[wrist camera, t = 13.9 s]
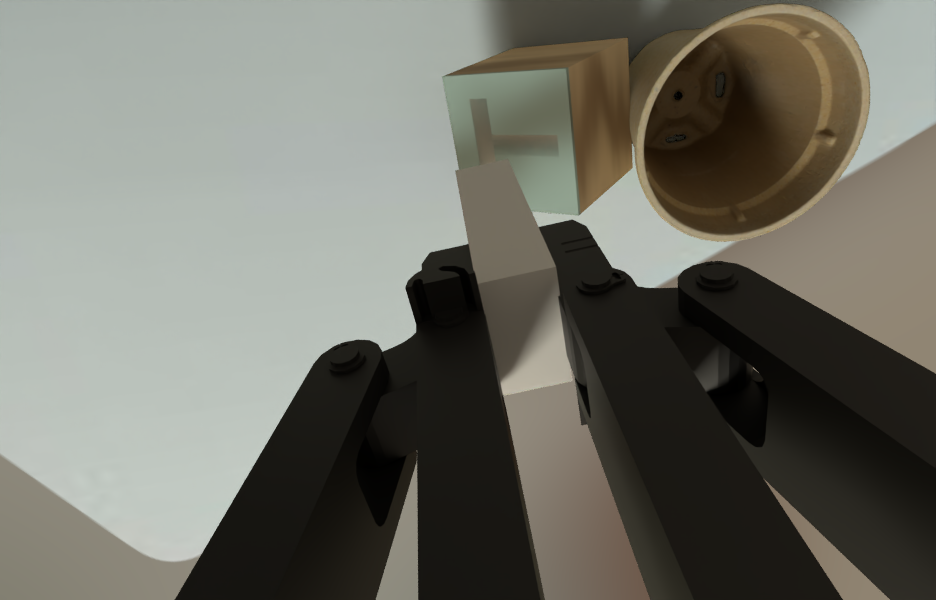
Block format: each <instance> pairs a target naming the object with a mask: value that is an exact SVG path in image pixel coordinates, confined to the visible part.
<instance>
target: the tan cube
mask: <svg viewBox="0 0 936 600" xmlns="http://www.w3.org/2000/svg"><path fill="white" fill-rule="evenodd" d="M442 78H443V84H444V89H445V95H446V100H447V106H448V111H449V116H450V122H451V127H452V133H453V138H454V144H455V149H456V155H457V160H458V166H459V170H461V169H466V168H470V167H474V166H479V165H483V164H488V163H492V162H497V161H501V160H505V159H508V160H509V162H510V165H511V167H512V169H513V171H514V174H515V176H516V178H517V180H518V183H519V185H520V187H521V189H522V192H523V194H524V196H525V198H526V201H527V203H528V205H529V207H530V209H531V211H534V212H545V213H556V214H567V215H578V216H579V215H580V214H581V213H582V212H583V211H584V210H585V209H587V208H588V207H589V206H590V205H591V204H592V203H593V202H594V201H596V200H597V199H598V198H599V197H600V196H601V195H602V194H603V193H605V192H606V191H607V190H608V189H609V188H610V187H611V186H613V185H614V184H615V183H616V182H617V181H618V180H619V179H620V178H622V177H623V176H624V175H625V174H626V173H627V172H628V171H630V170H631V169H632V168H633V167H632V139H631V133H630V123H629V117H630V84H629V57H628V38H619V39H608V40H597V41H587V42H576V43H565V44H554V45H543V46H533V47H522V48H513V49H510V50H508V51H505V52H503V53H500V54H498V55H495V56H493V57H490V58H488V59H485V60H483V61H480V62H478V63H475V64H473V65H470V66H468V67H465V68H463V69H460V70H458V71H455V72H453V73H450V74H448V75H445V76H443V77H442Z"/></svg>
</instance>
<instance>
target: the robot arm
mask: <svg viewBox="0 0 936 600" xmlns="http://www.w3.org/2000/svg"><path fill="white" fill-rule="evenodd" d="M456 177H457V182H458V188H459V193H460V199H461V204H462V210H463V215H464V221H465V226H466V232H467V237H468V243H469V244H467V245H463V246H458V247H454V248H449V249H445V250H440V251H435V252H431V253H429V255H428V256H427V257H426V259H425V260H424V262H423V263H422V271H420V272H418V273H416V274H415V275H414V276H413V277H412V278H411V279H409V280H408V282H407V285H406V292H407V295H408V298H409V302H410V305H411V308H412V312H413V315H414V318H415V322H416V333H415V334H414V335H413V336H412V337H411V338H409V339H408V340H406V341H405V342H403V343H401V344H399V345H397V346H395V347H393V348H391V349H388V350H386V351H384V352H382V350H381V349H380V347H379V345H378V344H376V343H374V342H372V341H370V340H354V341H349V342H344V343H341V344H338V345H336V346H334V347H332V348H331V349H329V350H328V351H326V352H325V353H323V354H322V355H321V356H320V357H319V358H318V359H317V361H316V362H315V363H314V364H313V366H312V368H311V369H310V371H309V373H308V374H307V376H306V378H305V380H304V381H303V383H302V385H301V386H300V388H299V390H298V391H297V393H296V395H295V397H294V398H293V400H292V402H291V403H290V405H289V407H288V408H287V410H286V412H285V414H284V415H283V417H282V419H281V420H280V422H279V424H278V425H277V427H276V429H275V431H274V432H273V434H272V436H271V437H270V439H269V441H268V442H267V444H266V446H265V448H264V449H263V451H262V453H261V454H260V456H259V458H258V459H257V461H256V463H255V464H254V466H253V468H252V470H251V471H250V473H249V475H248V476H247V478H246V480H245V481H244V483H243V485H242V487H241V488H240V490H239V492H238V493H237V495H236V497H235V498H234V500H233V502H232V504H231V505H230V507H229V509H228V510H227V512H226V514H225V515H224V517H223V519H222V521H221V522H220V524H219V526H218V527H217V529H216V531H215V532H214V534H213V536H212V538H211V539H210V541H209V543H208V544H207V546H206V548H205V549H204V551H203V553H202V554H201V556H200V558H199V560H198V561H197V563H196V565H195V566H194V568H193V570H192V571H191V573H190V575H189V577H188V578H187V580H186V582H185V583H184V585H183V587H182V588H181V590H180V592H179V594H178V596H177V597H176V599H175V600H376V596H377V592H378V590H379V586H380V583H381V579H382V576H383V573H384V569H385V566H386V562H387V559H388V556H389V552H390V549H391V546H392V542H393V539H394V536H395V532H396V529H397V526H398V522H399V519H400V515H401V512H402V509H403V505H404V502H405V499H406V495H407V492H408V488H409V485H410V481H411V478H412V475H413V472H414V468H415V465H416V461H417V470H418V471H417V473H418V474H417V478H418V600H545V598H544V593H543V588H542V583H541V578H540V573H539V569H538V564H537V559H536V554H535V549H534V544H533V539H532V534H531V529H530V524H529V519H528V514H527V509H526V504H525V499H524V495H523V490H522V485H521V480H520V475H519V470H518V465H517V460H516V455H515V450H514V445H513V441H512V435H511V430H510V425H509V421H508V416H507V411H506V407H505V403H504V398H503V396H504V395H509V394H513V393H518V392H523V391H528V390H532V389H537V388H542V387H546V386H551V385H556V384H561V383H566V382H570V381H572V374H571V368H572V371H573V374H574V376H575V383H576V390H577V397H578V404H579V411H580V418H581V425H585V424H587V425H588V428H589V430H590V433H591V436H592V439H593V442H594V444H595V447H596V450H597V453H598V455H599V458H600V461H601V464H602V467H603V469H604V472H605V475H606V478H607V480H608V483H609V486H610V489H611V491H612V494H613V497H614V500H615V503H616V505H617V508H618V511H619V514H620V516H621V519H622V522H623V525H624V528H625V530H626V533H627V536H628V539H629V542H630V544H631V547H632V550H633V553H634V556H635V558H636V561H637V564H638V567H639V569H640V572H641V575H642V578H643V581H644V583H645V586H646V589H647V592H648V594H649V597H650V600H843V599H842V598H841V596H840V595H839V593H838V592H837V590H836V589H835V587H834V585H833V584H832V582H831V581H830V579H829V578H828V577H827V575H826V573H825V572H824V570H823V569H822V567H821V566H820V564H819V563H818V561H817V560H816V558H815V557H814V555H813V553H812V552H811V550H810V549H809V548H808V546H807V544H806V543H805V541H804V540H803V539H802V537H801V535H800V534H799V532H798V531H797V529H796V528H795V526H794V525H793V523H792V522H791V520H790V518H789V517H788V516H787V514H786V513H785V511H784V510H783V508H782V506H781V505H780V503H779V502H778V500H777V499H776V497H775V496H774V494H773V493H772V491H771V490H770V488H769V486H768V485H767V483H766V482H765V480H766V481H767V482H768V483H769V484H770V485H771V486H772V487H773V488H774V489H775V490H776V491H778V493H780V495H782V496H783V497H784V498H785V499H786V500H787V501H788V502H789V503H790V504H791V505H792V506H793V507H794V508H795V509H796V510H797V511H798V512H799V513H800V514H801V515H802V516H803V517H804V518H805V519H807V520H808V521H809V522H810V523H811V524H812V525H813V526H814V527H815V528H816V529H817V530H818V531H819V532H820V533H821V534H822V535H823V536H825V538H826V539H827V540H828V541H830V542H831V543H832V544H833V545H834V546H835V547H836V548H837V549H838V550H839V551H840V552H841V553H842V554H843V555H844V556H845V557H846V558H847V559H848V560H849V561H850V562H851V563H853V565H855V566H856V567H857V568H858V569H859V570H860V571H861V572H862V573H863V574H864V575H865V576H866V577H867V578H868V579H869V580H870V581H871V582H872V583H873V584H874V585H875V586H876V587H878V588H879V589H880V590H881V591H882V592H883V593H884V594H885V595H886V596H887V597H888V598H889V599H890V600H936V374H935V373H934V372H932V371H930V370H928V369H926V368H925V367H923V366H921V365H919V364H917V363H916V362H914V361H912V360H910V359H909V358H907V357H905V356H903V355H902V354H900V353H898V352H896V351H894V350H893V349H891V348H889V347H887V346H886V345H884V344H882V343H880V342H878V341H877V340H875V339H873V338H871V337H869V336H868V335H866V334H864V333H862V332H861V331H859V330H857V329H855V328H854V327H852V326H850V325H848V324H846V323H845V322H843V321H841V320H839V319H838V318H836V317H834V316H832V315H830V314H829V313H827V312H825V311H823V310H822V309H820V308H818V307H816V306H814V305H812V304H811V303H809V302H807V301H806V300H804V299H802V298H800V297H799V296H797V295H795V294H793V293H791V292H790V291H788V290H786V289H784V288H783V287H781V286H779V285H777V284H775V283H774V282H772V281H770V280H768V279H767V278H765V277H763V276H761V275H759V274H757V273H756V272H754V271H752V270H750V269H748V268H746V267H744V266H741V265H739V264H735V263H728V262H723V261H715V262H712V261H711V262H705V263H701V264H697V265H693V266H691V267H689V268H687V269H685V270H684V271H683V272H682V273H681V274H680V275H679V277H678V288H644V287H638V286H637V285H636V284H635V282H634V281H633V279H632V278H631V277H630V276H629V275H628V274H627V273H625V272H624V271H621V270H618V269H615V268H612V267H611V265H610V263H609V262H608V260H607V259H606V257H605V255H604V254H603V252H602V251H601V249H600V247H599V246H598V244H597V243H596V241H595V239H594V238H593V236H592V235H591V233H590V231H589V230H588V228H587V227H586V226H585V225H582V224H580V223H578V222H576V221H574V220H569V221H564V222H560V223H555V224H551V225H546V226H542V227H538V225H537V223H536V221H535V218H534V216H533V214H532V212H531V209H530V207H529V205H528V203H527V201H526V198H525V196H524V194H523V192H522V189H521V187H520V185H519V183H518V180H517V178H516V176H515V174H514V171H513V169H512V167H511V165H510V162H509V160H508V159H505V160H501V161H497V162H492V163H488V164H483V165H479V166H474V167H470V168H466V169H461V170H457V171H456ZM753 367H754V368H755V369H756V370H757V371H758V372H759V373H760V374H759V373H758V372H757V371H755V370H754V369H753ZM416 450H417V451H416ZM763 478H764V479H765V480H764V479H763Z"/></svg>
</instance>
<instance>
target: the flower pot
mask: <svg viewBox="0 0 936 600" xmlns="http://www.w3.org/2000/svg"><path fill="white" fill-rule="evenodd" d="M719 73H723V74H724V75H725V84H724V88H723V89H724V92H723V95H722V96H721V97H717V96H716V79H717V78H716V75H718V74H719ZM629 84H630V117H629V123H630V133H631V139H632V144H633V146H634V147H635V163H636V169H637V174H638V178H639V181H640V184H641V187H642V189H643V191H644V193H645V195H646V197H647V199H648V201H649V202H650V204H651V205H652V207H653V208H654V210H655V211H656V212H657V213H658V214H659V216H660V217H661V218H662V219H664V220H665V221H666V222H667V223H669V224H670V225H671V226H673V227H674V228H676V229H678V230H679V231H681V232H683V233H685V234H687V235H689V236H693V237H696V238H699V239H704V240H710V241H717V242H718V241H724V242H726V241H739V240H745V239H750V238H754V237H755V236H760V235H762V234H765V233H768V232H771V231H773V230H775V229H778V228H780V227H782V226H784V225H786V224H787V223H789V222H791V221H793V220H795V219H796V218H797V217H799V216H800V215H802V214H803V213H805V212H806V211H807V210H809V209H810V208H811V207H812V206H814V205H815V204H816V203H817V202H818V201H819V200H820V199H821V198H822V197H824V196H825V194H826V193H827V192H828V191H829V190H830V189H831V188H832V186H833V185H834V184H835V183H836V182H837V180H838V179H839V178H840V177H841V175H842V174H843V172H844V171H845V169H846V168H847V166H848V165H849V163H850V161H851V160H852V158H853V157H854V155H855V152H856V150H857V149H858V146H859V145H860V140H861V139H862V136H863V133H864V130H865V128H866V123H867V118H868V114H869V106H870V82H869V73H868V68H867V65H866V62H865V60H864V58H863V55H862V51H861V49H860V48H859V45H858V43H857V41H856V40H855V38H854V37H853V35H852V34H851V33H850V32H849V31H848V30H847V29H846V28H845V27H844V26H843V25H842V24H841V23H839V22H838V21H837V20H836V19H834V18H833V17H832V16H830V15H828V14H826V13H824V12H822V11H820V10H817V9H815V8H812V7H809V6H804V5H798V4H783V3H779V4H765V5H759V6H753V7H749V8H746V9H743V10H740V11H737V12H735V13H732V14H730V15H727V16H725V17H723V18H721V19H719V20H717V21H715V22H713V23H712V24H710V25H708V26H707V27H705V28H702V29H692V30H679V31H674V32H670V33H668V34H665V35H663V36H661V37H659V38H657V39H655V40H653V41H651V42H650V43H649V44H647V45H646V46H645V47H644V48H643V49H642V50H641V51H640V52H639V54H638V55H637V56H636V57H635V59H634V60H633V61H632V63H631V64H630V66H629ZM678 91H680V92H681V93H682V97H681V98H680V99H679V100H677V99H675V98H674V94H675V93H676V92H678ZM675 134H676V135H683V134H684V135H685V136H686V139H683V140H680V141H676V142H668V141H666V138H667V137H673V136H674V135H675Z"/></svg>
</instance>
